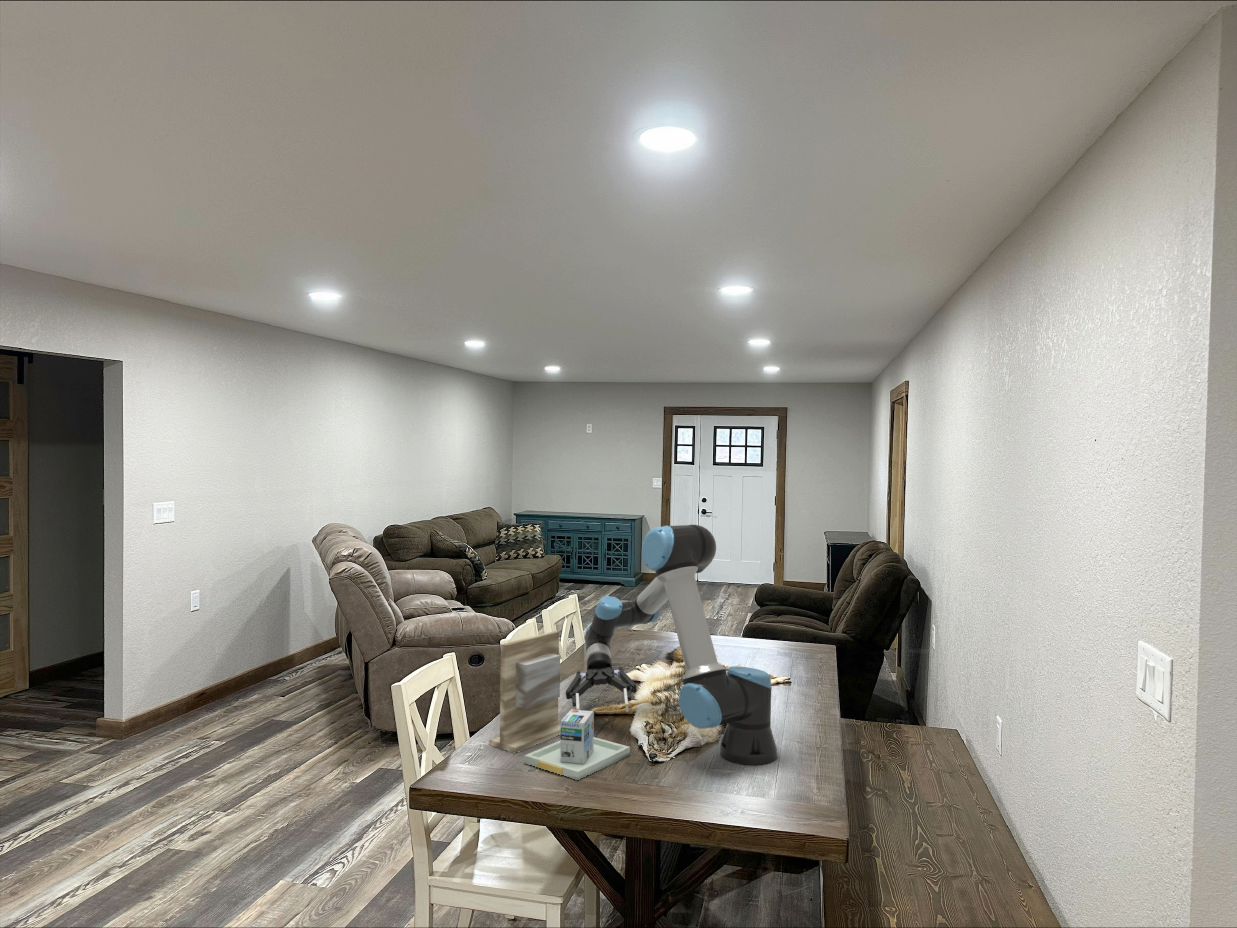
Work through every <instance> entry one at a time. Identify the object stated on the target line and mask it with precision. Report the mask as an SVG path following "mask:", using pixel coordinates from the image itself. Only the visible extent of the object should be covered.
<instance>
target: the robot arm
mask: <svg viewBox="0 0 1237 928" xmlns="http://www.w3.org/2000/svg"><path fill="white" fill-rule="evenodd" d="M716 551H717V542H716V539H715V537H714V535H713V534H712V533H711V531H710V530H709V529H707V528H705V527H704V526H702V525H700V524H686V525H684V524H683V525H680V524H679V525H662V526H658V527H653V528H651V529H650V530H649V531H648V532H647V533H646V535H645V537H644V539H643V541H642V546H641V556H642V562H643V563H644V565H645V567H647V568H648V569H649V570H651V571H654V572H655V576H656V577H655V578H653V580H652V581H651V582H650V583H649V584H648V585H647V586H646V587H645V588H644V589H643V590H642V591H641V592H640V593H639V595H638V596H637V597H635V598H634V599H633V600H630V601H629V600H628V601H621V600H620V599H618V598H617V597H616V596H610V595H604V596H602V597H601V598H600V599H599V601H598V603H597V606H596V607H595V609H594V614H593V618H592V621H591V624H590V625H589V626H588V627H587V629H586V630H585V634H584V635H585V636H584V641H585V654H586V655H585V658H586V672H584V673H583V672H582V671H580V670H577V671H576V674H575V677H574V678H573V680H572V682H570V684H569V685H568V687H567V689H565V697H566V700H570V699H571V700H572V701H571V703H572V707H573V708H575V707H576V709H575V710H581V707H580V704H581V703H580V697H582V695H583V694H585V692H587V690H589V689H591V688H593V687H594V686H601V685H603V686H604V685H609V686H611V687H614V688H616V689H617V690H619V691H621V692H622V693H623V697H624V698H623V699H624V705H625V712H627V713H628V712H629V702H632V700H633V699H632V693H634V694H636V693H638V692H637V691H638V690H637V683H635V681H634V680H632V679H631V677H630V676H629V675H628V674H627V673H626V672H625V670H624V667H622V666H619V667H618V669H616V670H615V669H613V664H612V653H611V641H612V639H613V636H614V633H615V631H616V628H624V627H630V626H636V625H637V626H638V625H646V624H649V623H654V622H655V621H656V620H657V619H658V616H659V614H660V609H661V608H662V607H663V605H665V603H667V601H668V605H669V609H670V613H671V617H672V620H673V624H674V628H675V631H676V636H677V640H678V644H679V648H680V652H681V655H682V659H683V663H684V666H685V667H684V668H685V670H686V671H685V673H684V675H683V678H682V683H683V686H682V687H681V688H680V690H679V696H678V705H679V708H680V711H681V713H682V715H683V717H684V719H685V721H687V722H688V723H690V724H691V725H692V726H693V727H695V728H697V729H709V728H710V729H713V728H717V727H719V726H722V725H725V724H726V727H725V729H724V733H723V736H722V738H721V741H720V745H719V746H720V750H719V753H720V756H721V757H722V758H723V759H725V760H728V761H730V762H732V763H737V764H741V765H750V766H752V765H753V766H754V765H766V764H769V763H773V762H775V761H776V760H777V758H778V747H777V744H776V741H775V737H774V735H773V731H772V727H771V726H772V725H771V720H772V717H771V716H772V681H771V679H772V678H771V676H770V674H769V673H768V672H767V671H764V670H762V669H758V668H753V667H747V666H730V667H729V668H727V670H726V667H724V666H722V664H720V663H719V662H718V659H717V655H716V652H715V647H714V643H713V641H712V637H711V632H710V630H709V625H708V622H707V618H706V614H705V610H704V606H703V603H702V599H701V596H700V592H699V588H698V584H697V580H696V576H695V575H696V574H700V573H703V571H704V570H705V569H707V567H708V566H709V565H710V564H712V561H713V560H714V558H715V556H716V553H717V552H716ZM583 680H584V681H583Z"/></svg>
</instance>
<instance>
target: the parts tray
mask: <svg viewBox="0 0 1237 928" xmlns="http://www.w3.org/2000/svg"><path fill="white" fill-rule="evenodd" d="M630 756H631V746H628V745H625V744H621V743H617V742H614V741H613V742H612V741H610V740H606V739H602V738H598V737H595V736H594V751H593V752H592V753H591V755H590V756H589V758H588V759H587V760H586V762H585V763H584V764H579V763H569V762H560V740H559V741H556V742H553V743H550V744H549V745H545V746H544V747H541V748H539V749H536V750H534V751H532V752H530V753H527V754H524V762H523V764H524V763H525V764H524V765H526V764H528V765H527V766H530V765H532V766H531V767H533V766H535V767H534V768H536V767H538V768H537V769H539V768H541V769H540V770H542V769H544V770H543V771H545V770H548V771H550V772H549V773H551V772H554V773H553V774H555V773H557V774H556V775H558V774H560V775H559V776H561V775H564V776H567V777H570V778H573V779H575V780H574V781H577V780H579V781H581V780H582V779H581V778H583V777H585V778H586V776H587V775H589V776H590V774H591V775H593V774H595V773H597V772H599V771H601V770H603V769H605V768H607V767H609V766H611V765H613V764H615V763H617V762H618V761H619V762H620V761H621V760H623V759H625V758H627V757H630ZM548 771H547V772H548ZM596 771H597V772H596ZM594 772H595V773H594ZM592 773H593V774H592ZM564 776H563V777H564ZM567 777H566V778H567ZM587 777H588V776H587ZM570 778H569V779H570ZM573 779H572V780H573ZM580 779H581V780H580ZM583 779H584V778H583Z"/></svg>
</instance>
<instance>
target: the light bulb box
mask: <svg viewBox="0 0 1237 928" xmlns="http://www.w3.org/2000/svg"><path fill="white" fill-rule="evenodd" d="M594 717H595V712H594V710H593V711H592V710H581V709H580V710H577V709H574V708H573V709H572V708H571V709H570V710H569V711H568V712H567V713H566V715H564V716H563V718H562V719H561V720H560V722H559V723H560V724H561V735H560V740H559V741H560V762H569V763H579V764H584V763H585V762H586V760H587V759H588V758H589V756H590V755H591V753H592V752H593V751H594V737H595V736H594V735H595V734H594V733H595V732H594V730H595V728H594V727H595V719H594Z"/></svg>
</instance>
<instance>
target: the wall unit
mask: <svg viewBox="0 0 1237 928" xmlns="http://www.w3.org/2000/svg"><path fill="white" fill-rule="evenodd" d="M559 647H560V632H559V631H555V630H554V631H553V630H552V631H548V632H544V633H541V634H537V635H534V636H529V637H525V638H521V639H518V640H513V641H509V642H506V643H505V642H504V643H502V644H500V669H499V670H500V672H499V674H500V677H499V678H500V685H499V690H500V692H499V695H500V696H499V736H496V737H495V736H494V737H493V738H490V739H489V741H488V742H489V744H488V745H489V746H491V747H494V748H497V749H501V750H503V749H504V751H506V750H507V752H510V751H511V752H510V753H513V752H515V753H514V754H517V753H516V752H518V751H520V752H522V751H521V750H523V751H525V750H527V749H529V747H530V748H532V747H535V746H536V744H537V745H539V743H540V744H542V743H545V742H547V741H549V740H552V739H554V738H556V736H557V737H559V736H561V723H559V698H560V695H561V655H560V648H559ZM558 735H559V736H558ZM551 738H552V739H551ZM534 745H535V746H534ZM531 746H532V747H531ZM526 748H527V749H526ZM524 749H525V750H524ZM518 753H519V752H518Z"/></svg>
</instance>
